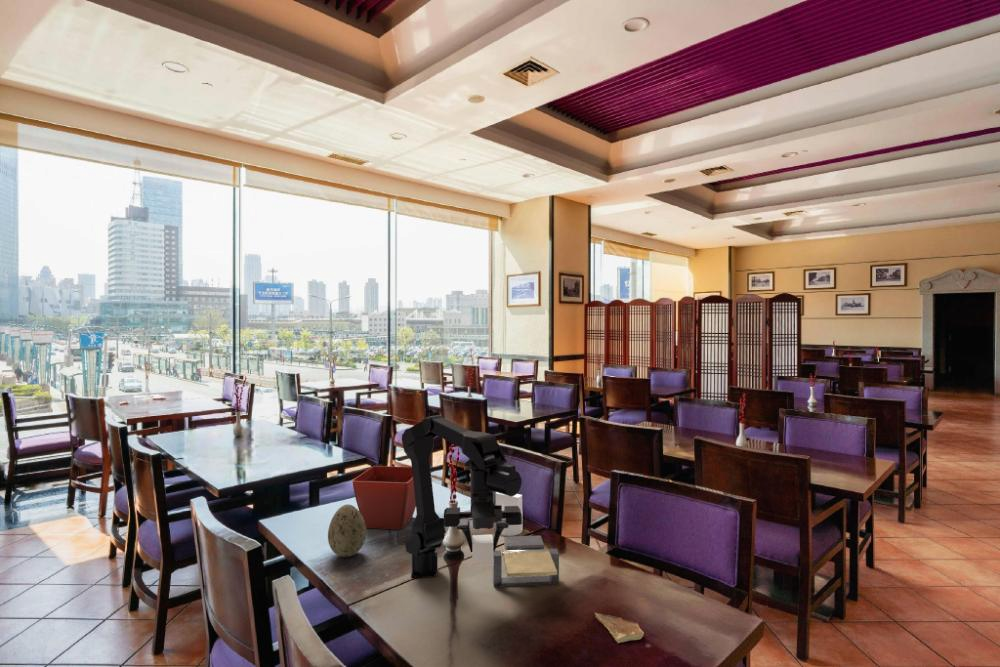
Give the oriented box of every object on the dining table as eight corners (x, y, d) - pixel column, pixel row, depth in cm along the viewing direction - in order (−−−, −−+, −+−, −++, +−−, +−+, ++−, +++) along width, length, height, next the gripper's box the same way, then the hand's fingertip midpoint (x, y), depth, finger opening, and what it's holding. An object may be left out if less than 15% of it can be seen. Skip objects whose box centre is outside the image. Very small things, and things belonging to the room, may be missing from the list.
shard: (594, 617, 121) (594, 610, 121) (624, 613, 123) (624, 606, 123) (615, 645, 110) (615, 637, 110) (648, 640, 112) (648, 632, 112)
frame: (493, 586, 134) (493, 555, 134) (493, 581, 137) (493, 550, 137) (558, 584, 135) (558, 553, 135) (556, 578, 138) (556, 548, 138)
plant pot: (373, 511, 188) (373, 464, 188) (424, 513, 186) (424, 466, 185) (351, 531, 169) (350, 480, 169) (407, 535, 167) (407, 483, 166)
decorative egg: (333, 567, 144) (333, 513, 144) (323, 553, 154) (323, 502, 153) (371, 558, 150) (371, 506, 150) (359, 544, 159) (359, 496, 159)
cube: (472, 564, 123) (472, 543, 123) (472, 555, 128) (472, 535, 128) (493, 563, 124) (493, 542, 124) (492, 554, 129) (492, 534, 129)
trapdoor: (506, 581, 124) (506, 569, 123) (500, 546, 142) (500, 536, 142) (558, 578, 125) (558, 567, 124) (544, 545, 143) (544, 535, 143)
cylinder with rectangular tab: (527, 528, 172) (527, 492, 172) (513, 537, 165) (513, 500, 164) (504, 523, 177) (504, 488, 177) (489, 531, 170) (489, 495, 169)
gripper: (442, 499, 117) (442, 567, 117) (524, 496, 118) (524, 565, 119) (444, 484, 128) (444, 547, 129) (519, 482, 129) (519, 544, 130)
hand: (482, 551), depth 126 cm, fingers closed on cube, 5 cm apart
